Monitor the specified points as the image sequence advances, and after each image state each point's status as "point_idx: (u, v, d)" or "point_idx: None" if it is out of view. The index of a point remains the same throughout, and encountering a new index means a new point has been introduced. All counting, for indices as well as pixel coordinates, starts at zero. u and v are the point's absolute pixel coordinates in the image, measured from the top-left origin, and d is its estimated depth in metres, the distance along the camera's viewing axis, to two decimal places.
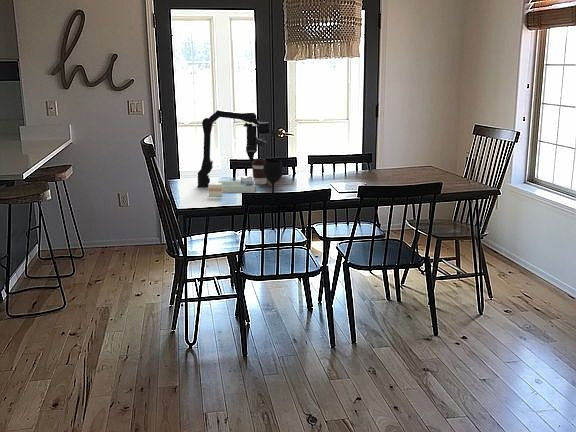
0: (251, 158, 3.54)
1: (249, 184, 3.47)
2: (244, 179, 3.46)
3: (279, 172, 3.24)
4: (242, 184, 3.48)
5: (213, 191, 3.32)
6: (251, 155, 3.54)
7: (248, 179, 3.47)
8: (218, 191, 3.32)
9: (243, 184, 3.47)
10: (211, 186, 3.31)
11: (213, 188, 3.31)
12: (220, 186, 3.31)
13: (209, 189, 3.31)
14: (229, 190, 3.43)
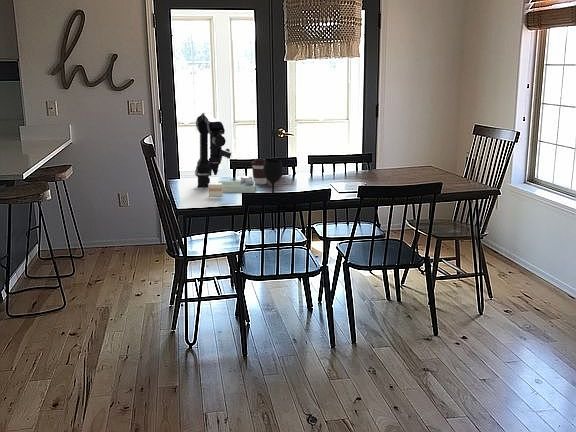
0: (215, 170, 3.27)
1: (249, 184, 3.47)
2: (244, 179, 3.46)
3: (279, 172, 3.24)
4: (242, 184, 3.48)
5: (213, 191, 3.32)
6: (215, 167, 3.26)
7: (248, 179, 3.47)
8: (218, 191, 3.32)
9: (243, 184, 3.47)
10: (211, 186, 3.31)
11: (213, 188, 3.31)
12: (220, 186, 3.31)
13: (209, 189, 3.31)
14: (229, 190, 3.43)
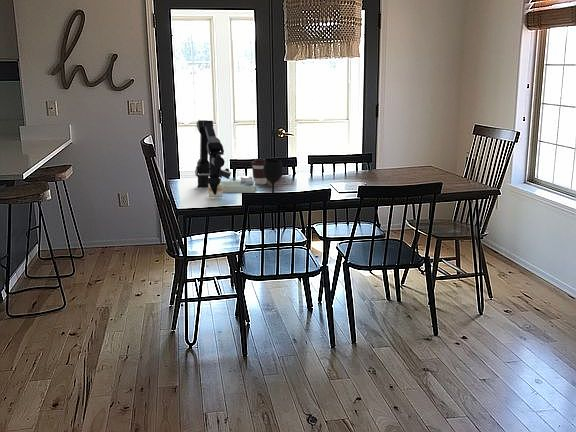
0: (214, 190, 3.30)
1: (249, 184, 3.47)
2: (244, 179, 3.46)
3: (279, 172, 3.24)
4: (242, 184, 3.48)
5: None
6: (214, 187, 3.30)
7: (248, 179, 3.47)
8: (218, 191, 3.32)
9: (243, 184, 3.47)
10: None
11: None
12: (220, 186, 3.31)
13: (209, 189, 3.31)
14: (229, 190, 3.43)
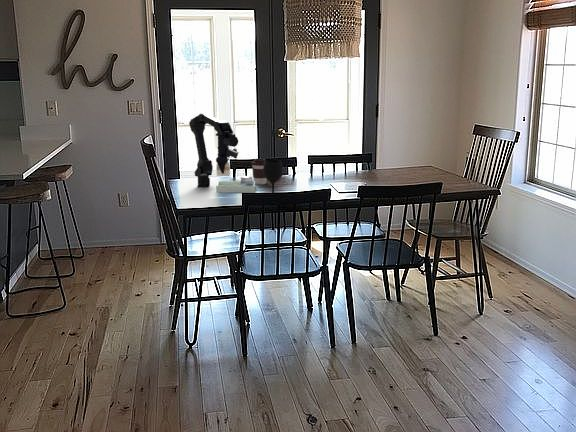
0: (222, 169, 3.42)
1: (249, 184, 3.47)
2: (244, 179, 3.46)
3: (279, 172, 3.24)
4: (242, 184, 3.48)
5: None
6: (222, 166, 3.41)
7: (248, 179, 3.47)
8: (226, 170, 3.43)
9: (243, 184, 3.47)
10: None
11: None
12: (228, 165, 3.42)
13: (217, 168, 3.43)
14: (229, 190, 3.43)
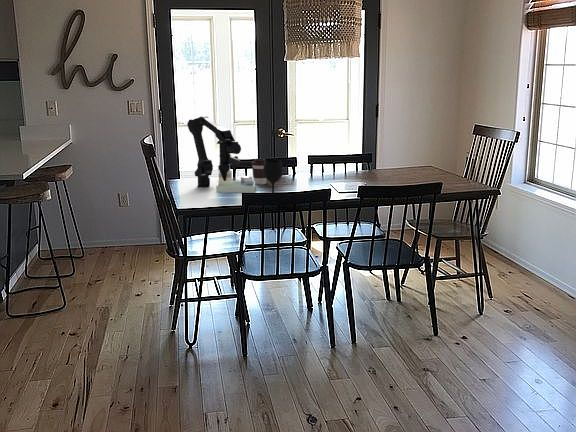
0: (224, 176, 3.45)
1: (249, 184, 3.47)
2: (244, 179, 3.46)
3: (279, 172, 3.24)
4: (242, 184, 3.48)
5: None
6: (224, 173, 3.44)
7: (248, 179, 3.47)
8: (228, 178, 3.47)
9: (243, 184, 3.47)
10: None
11: None
12: (230, 172, 3.46)
13: (219, 175, 3.46)
14: (229, 190, 3.43)
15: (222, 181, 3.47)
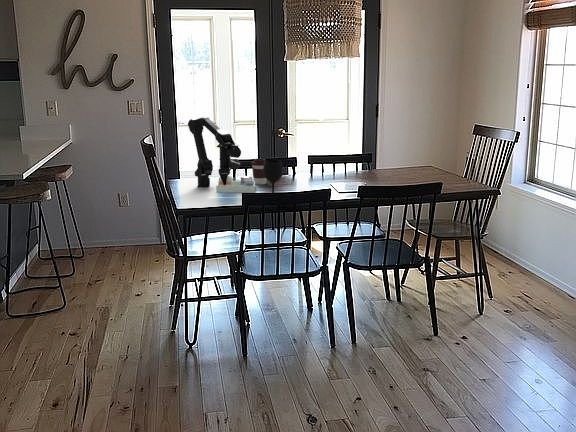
0: (224, 181, 3.44)
1: (249, 184, 3.47)
2: (244, 179, 3.46)
3: (279, 172, 3.24)
4: (242, 184, 3.48)
5: (223, 184, 3.47)
6: (224, 177, 3.43)
7: (248, 179, 3.47)
8: (228, 184, 3.47)
9: (243, 184, 3.47)
10: None
11: None
12: (230, 179, 3.47)
13: (219, 182, 3.47)
14: (229, 190, 3.43)
15: None
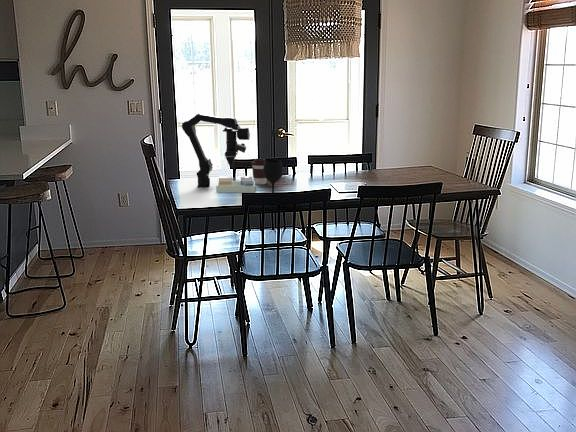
0: (230, 163, 3.52)
1: (249, 184, 3.47)
2: (244, 179, 3.46)
3: (279, 172, 3.24)
4: (242, 184, 3.48)
5: (223, 184, 3.47)
6: (230, 160, 3.51)
7: (248, 179, 3.47)
8: (228, 184, 3.47)
9: (243, 184, 3.47)
10: (221, 179, 3.47)
11: (223, 181, 3.47)
12: (230, 179, 3.47)
13: (219, 182, 3.47)
14: (229, 190, 3.43)
15: None
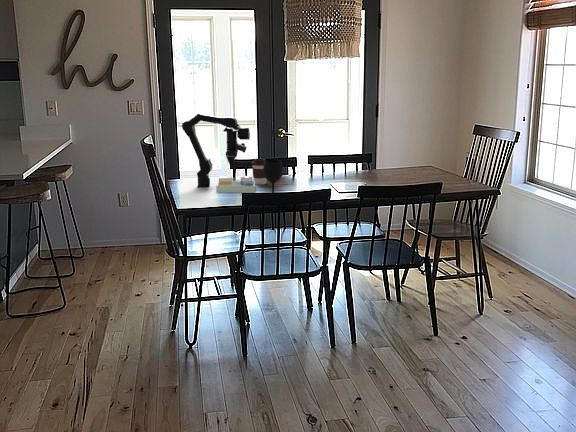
0: (231, 163, 3.53)
1: (249, 184, 3.47)
2: (244, 179, 3.46)
3: (279, 172, 3.24)
4: (242, 184, 3.48)
5: (223, 184, 3.47)
6: (231, 160, 3.52)
7: (248, 179, 3.47)
8: (228, 184, 3.47)
9: (243, 184, 3.47)
10: (221, 179, 3.47)
11: (223, 181, 3.47)
12: (230, 179, 3.47)
13: (219, 182, 3.47)
14: (229, 190, 3.43)
15: None
